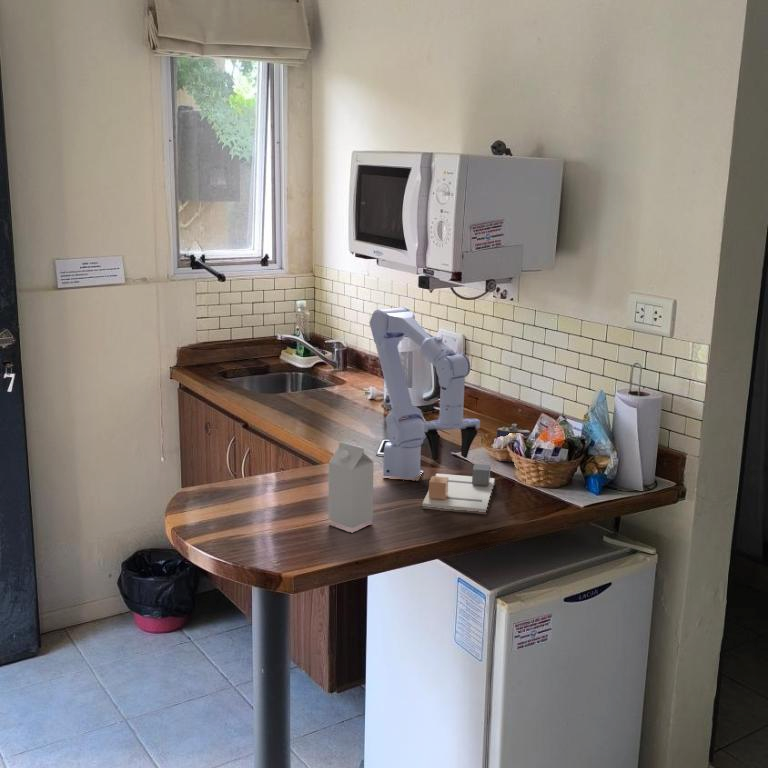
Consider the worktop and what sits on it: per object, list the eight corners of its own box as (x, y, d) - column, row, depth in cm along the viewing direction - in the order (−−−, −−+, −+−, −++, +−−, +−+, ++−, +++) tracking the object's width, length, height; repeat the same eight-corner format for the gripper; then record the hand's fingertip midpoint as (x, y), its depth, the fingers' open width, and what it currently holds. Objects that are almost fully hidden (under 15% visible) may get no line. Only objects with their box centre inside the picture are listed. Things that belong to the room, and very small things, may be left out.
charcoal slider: (472, 484, 229) (472, 469, 228) (474, 478, 233) (474, 463, 232) (488, 485, 228) (488, 470, 227) (489, 480, 232) (490, 465, 231)
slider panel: (422, 509, 217) (422, 502, 217) (436, 478, 238) (436, 473, 238) (485, 515, 214) (486, 508, 214) (494, 483, 235) (494, 478, 235)
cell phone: (375, 457, 256) (375, 454, 255) (382, 442, 270) (382, 438, 270) (403, 458, 255) (403, 455, 254) (408, 443, 269) (408, 440, 269)
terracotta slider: (428, 497, 219) (429, 482, 218) (431, 491, 223) (432, 476, 222) (445, 499, 218) (445, 483, 217) (447, 493, 223) (448, 477, 222)
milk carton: (349, 517, 211) (349, 438, 207) (372, 525, 207) (374, 444, 203) (328, 526, 206) (328, 445, 202) (351, 534, 202) (352, 451, 197)
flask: (529, 460, 254) (531, 423, 251) (528, 464, 251) (530, 426, 249) (495, 458, 256) (497, 421, 253) (494, 461, 253) (496, 424, 251)
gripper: (429, 410, 216) (427, 465, 219) (486, 406, 220) (483, 460, 223) (419, 402, 222) (417, 456, 225) (474, 399, 226) (472, 451, 230)
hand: (449, 457), depth 225 cm, fingers open, 7 cm apart
